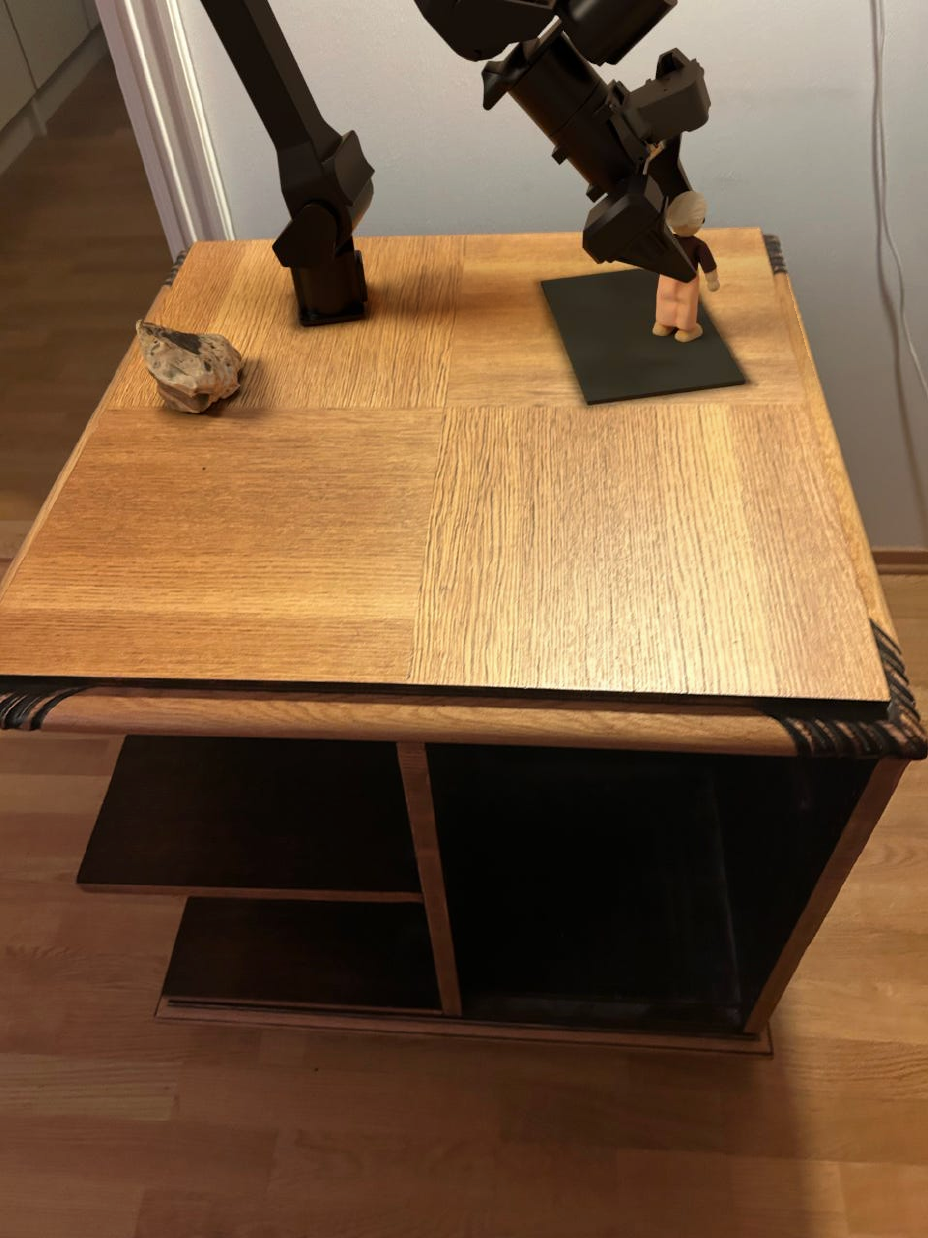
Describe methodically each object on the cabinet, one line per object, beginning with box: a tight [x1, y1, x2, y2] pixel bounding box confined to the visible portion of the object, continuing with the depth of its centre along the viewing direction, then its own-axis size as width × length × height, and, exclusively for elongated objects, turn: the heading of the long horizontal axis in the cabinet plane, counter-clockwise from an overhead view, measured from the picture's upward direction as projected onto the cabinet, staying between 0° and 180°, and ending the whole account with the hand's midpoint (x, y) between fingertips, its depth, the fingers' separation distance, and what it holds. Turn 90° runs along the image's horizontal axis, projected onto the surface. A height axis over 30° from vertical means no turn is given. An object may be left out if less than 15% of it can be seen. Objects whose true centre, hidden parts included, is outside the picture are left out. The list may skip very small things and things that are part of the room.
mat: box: [540, 267, 746, 406], centre depth 86 cm, size 14×20×1 cm
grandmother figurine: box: [637, 190, 721, 342], centre depth 80 cm, size 8×4×13 cm, turn 67°
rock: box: [135, 319, 245, 414], centre depth 81 cm, size 9×7×10 cm
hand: (696, 250), depth 78 cm, fingers open, 9 cm apart
